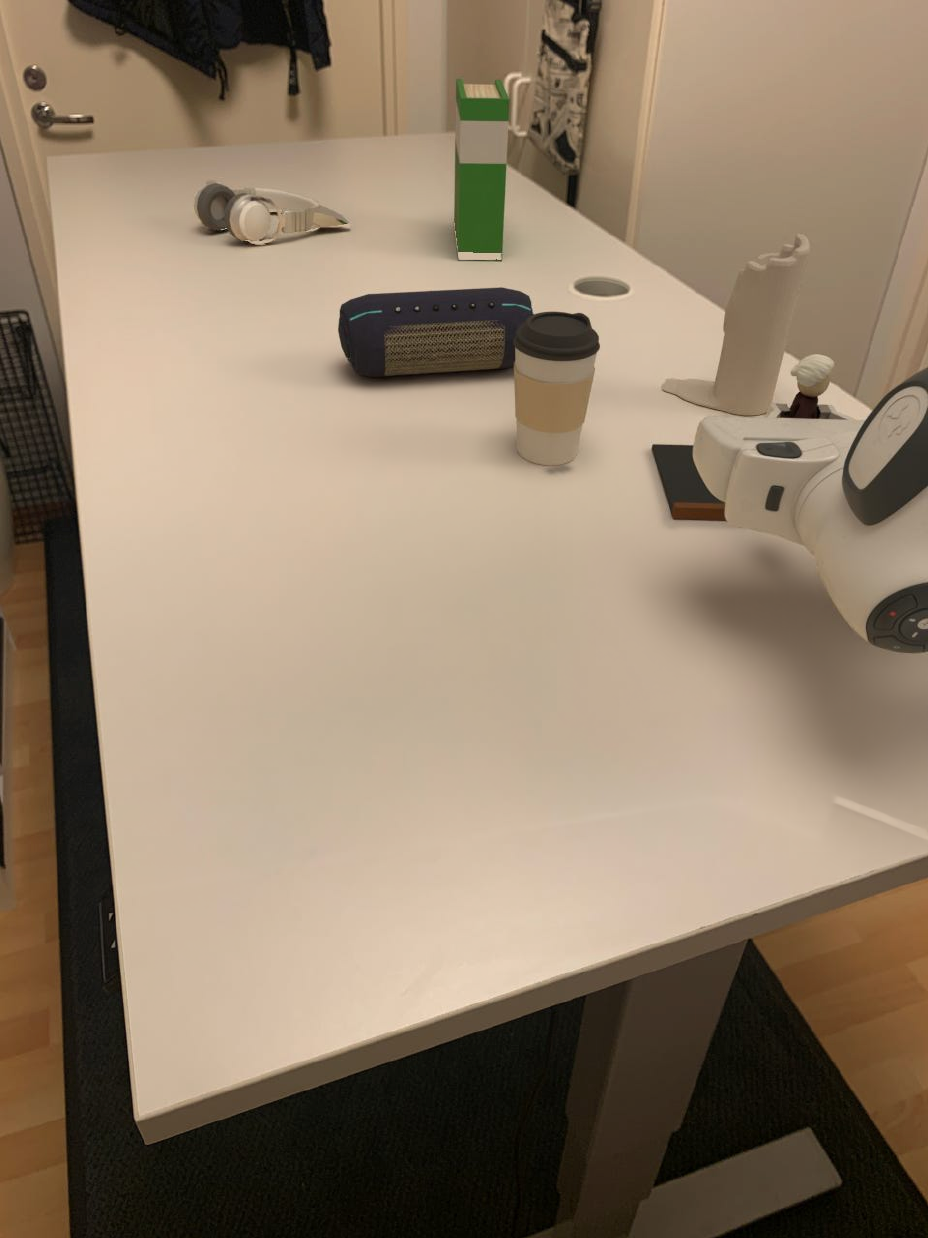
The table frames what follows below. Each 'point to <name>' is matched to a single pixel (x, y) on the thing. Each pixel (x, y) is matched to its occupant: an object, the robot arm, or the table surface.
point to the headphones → (259, 211)
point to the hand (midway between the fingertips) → (797, 411)
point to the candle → (752, 334)
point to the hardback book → (480, 166)
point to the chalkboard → (685, 484)
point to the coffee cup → (553, 384)
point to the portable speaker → (432, 330)
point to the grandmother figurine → (810, 384)
